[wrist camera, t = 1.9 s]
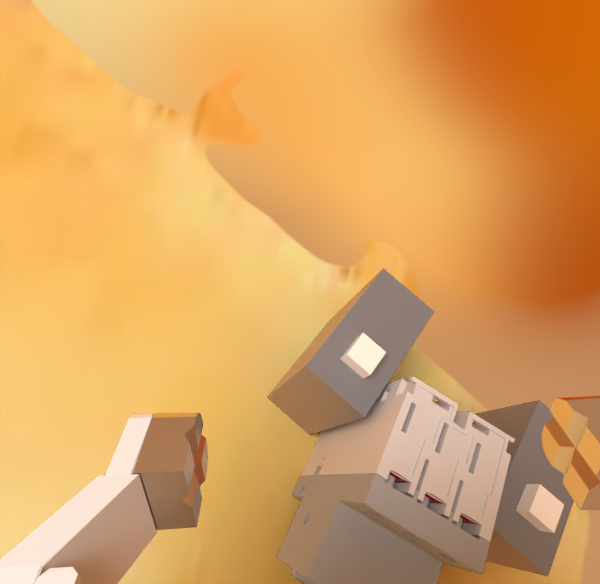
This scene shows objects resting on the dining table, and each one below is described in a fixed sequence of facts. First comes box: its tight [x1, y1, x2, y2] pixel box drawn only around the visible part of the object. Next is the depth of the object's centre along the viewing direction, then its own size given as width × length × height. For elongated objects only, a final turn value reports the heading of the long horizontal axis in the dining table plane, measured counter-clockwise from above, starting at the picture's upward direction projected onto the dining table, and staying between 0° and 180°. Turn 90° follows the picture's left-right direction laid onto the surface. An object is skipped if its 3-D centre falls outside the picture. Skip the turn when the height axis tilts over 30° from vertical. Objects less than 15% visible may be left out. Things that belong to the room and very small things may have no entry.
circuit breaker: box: [277, 376, 515, 584], centre depth 30 cm, size 8×14×15 cm, turn 152°
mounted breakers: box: [267, 269, 574, 576], centre depth 35 cm, size 10×20×13 cm, turn 52°
